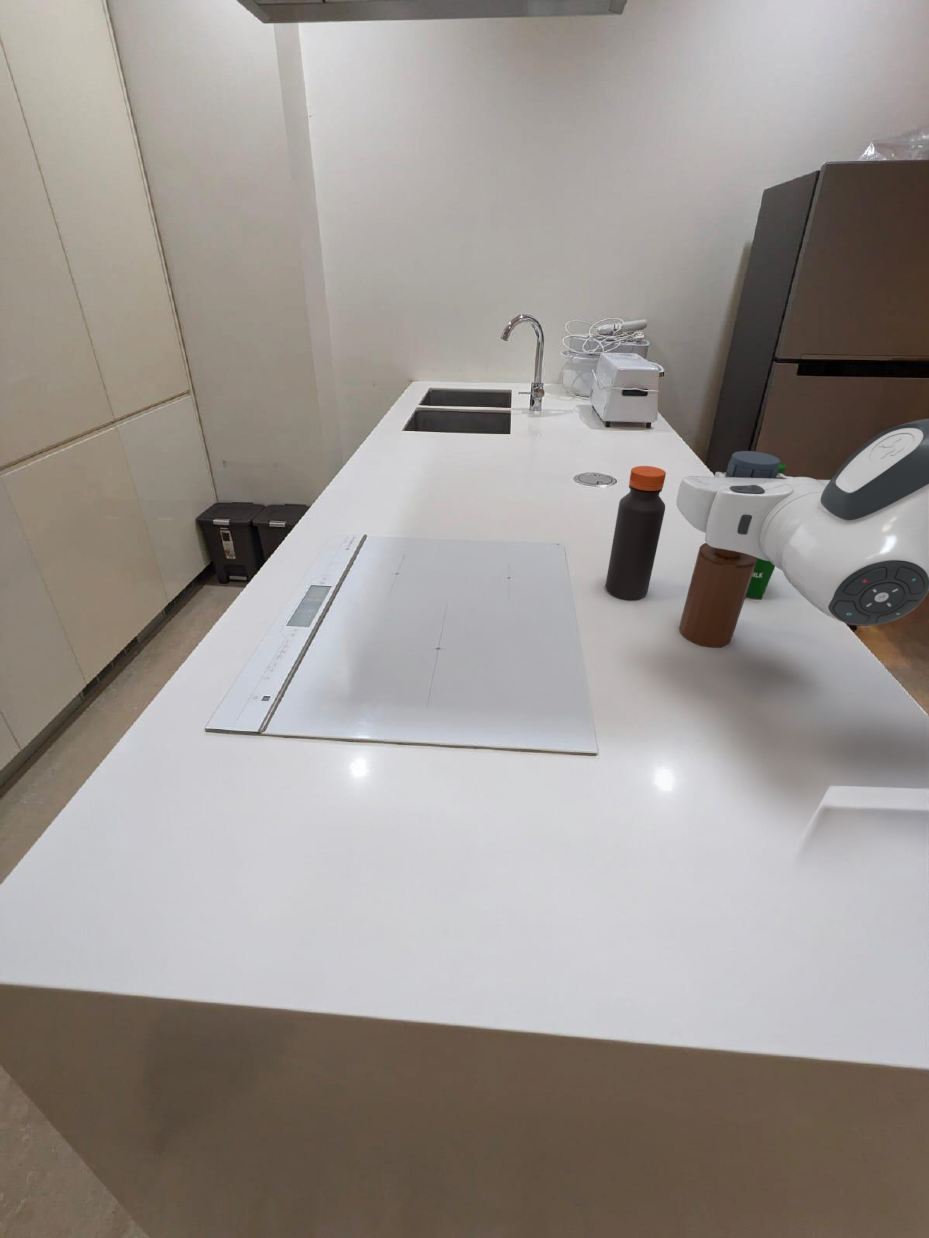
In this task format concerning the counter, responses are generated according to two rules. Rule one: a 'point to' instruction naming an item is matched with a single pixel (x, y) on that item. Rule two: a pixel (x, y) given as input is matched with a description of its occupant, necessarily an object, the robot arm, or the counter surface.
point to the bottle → (716, 595)
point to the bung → (753, 465)
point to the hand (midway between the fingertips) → (745, 478)
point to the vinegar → (636, 534)
